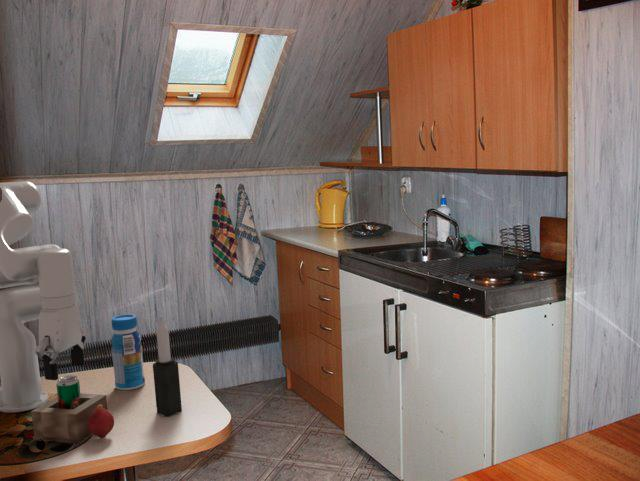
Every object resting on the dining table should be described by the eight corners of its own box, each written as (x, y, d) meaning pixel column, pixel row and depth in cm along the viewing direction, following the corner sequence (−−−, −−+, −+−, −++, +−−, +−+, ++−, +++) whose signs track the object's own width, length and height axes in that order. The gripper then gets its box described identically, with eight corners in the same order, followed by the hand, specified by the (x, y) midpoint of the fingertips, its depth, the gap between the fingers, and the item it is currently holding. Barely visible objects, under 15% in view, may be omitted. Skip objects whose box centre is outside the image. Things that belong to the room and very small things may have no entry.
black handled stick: (155, 412, 167) (146, 316, 164) (172, 406, 171) (163, 311, 167) (166, 417, 164) (158, 319, 160) (183, 410, 167) (175, 314, 164)
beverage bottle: (109, 390, 185) (102, 320, 182) (124, 380, 193) (117, 313, 190) (136, 391, 183) (130, 321, 180) (150, 380, 191) (144, 313, 188)
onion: (100, 445, 150) (97, 411, 149) (83, 440, 153) (80, 407, 152) (120, 435, 155) (117, 402, 153) (104, 431, 158) (100, 398, 156)
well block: (34, 439, 155) (31, 411, 154) (67, 419, 166) (64, 392, 165) (78, 443, 151) (75, 414, 150) (109, 422, 163) (106, 394, 162)
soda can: (76, 431, 156) (70, 382, 154) (56, 430, 157) (51, 381, 155) (87, 422, 161) (82, 374, 159) (69, 421, 162) (63, 374, 160)
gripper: (68, 292, 164) (74, 359, 166) (18, 310, 147) (26, 384, 150) (94, 293, 162) (100, 361, 164) (47, 312, 145) (54, 386, 148)
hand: (65, 372), depth 157 cm, fingers open, 9 cm apart
